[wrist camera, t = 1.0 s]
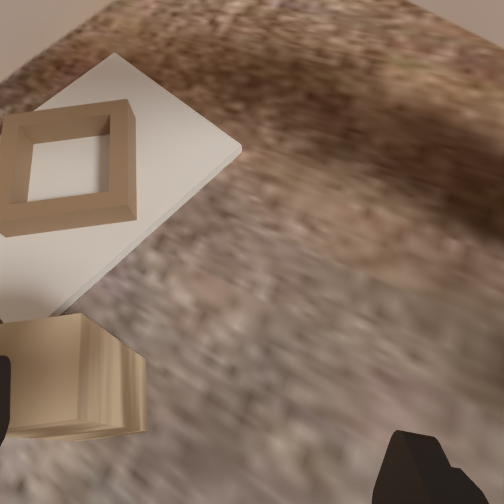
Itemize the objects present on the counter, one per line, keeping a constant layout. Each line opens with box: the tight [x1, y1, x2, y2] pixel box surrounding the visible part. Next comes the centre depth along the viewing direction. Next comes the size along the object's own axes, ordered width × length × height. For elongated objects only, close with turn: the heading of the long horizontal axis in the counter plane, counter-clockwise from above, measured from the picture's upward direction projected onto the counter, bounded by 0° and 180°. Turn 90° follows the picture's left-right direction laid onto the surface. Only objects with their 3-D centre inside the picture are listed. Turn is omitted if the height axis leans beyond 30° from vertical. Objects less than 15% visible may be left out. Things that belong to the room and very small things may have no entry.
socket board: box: [0, 52, 242, 323], centre depth 38 cm, size 24×18×4 cm
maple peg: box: [0, 313, 148, 441], centre depth 26 cm, size 5×5×12 cm
